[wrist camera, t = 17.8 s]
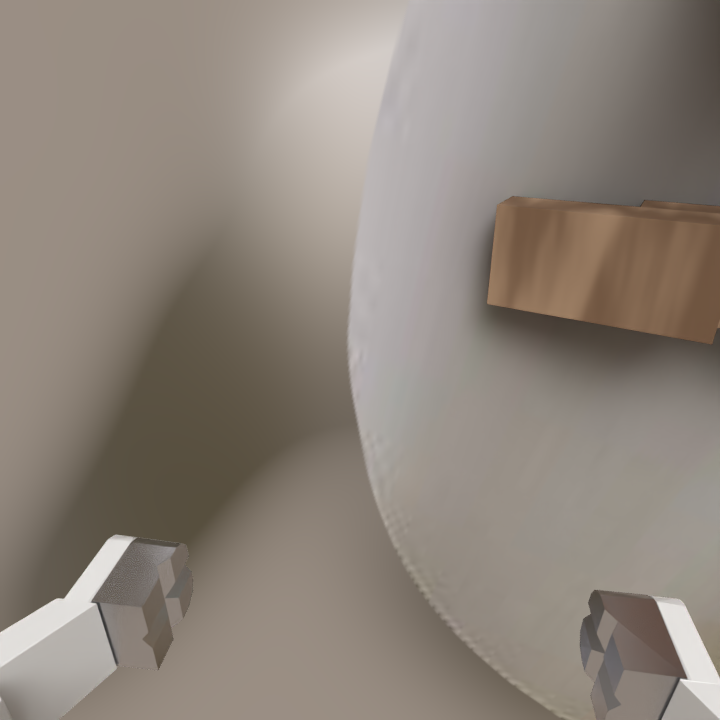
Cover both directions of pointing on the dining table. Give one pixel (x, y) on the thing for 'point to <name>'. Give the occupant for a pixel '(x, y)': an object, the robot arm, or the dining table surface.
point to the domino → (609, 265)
